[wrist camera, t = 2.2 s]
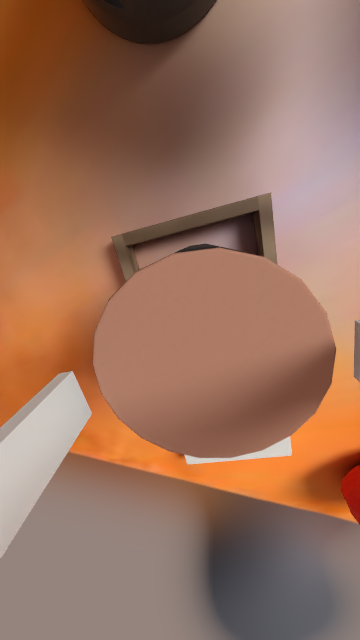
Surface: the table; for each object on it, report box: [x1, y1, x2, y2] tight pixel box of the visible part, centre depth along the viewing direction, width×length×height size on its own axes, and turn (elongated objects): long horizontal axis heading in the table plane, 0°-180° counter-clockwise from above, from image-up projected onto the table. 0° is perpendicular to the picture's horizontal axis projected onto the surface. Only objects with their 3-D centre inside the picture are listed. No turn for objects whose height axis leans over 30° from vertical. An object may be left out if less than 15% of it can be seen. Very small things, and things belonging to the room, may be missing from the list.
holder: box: [112, 193, 277, 281], centre depth 25 cm, size 16×16×2 cm
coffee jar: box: [93, 244, 336, 458], centre depth 18 cm, size 11×11×18 cm
